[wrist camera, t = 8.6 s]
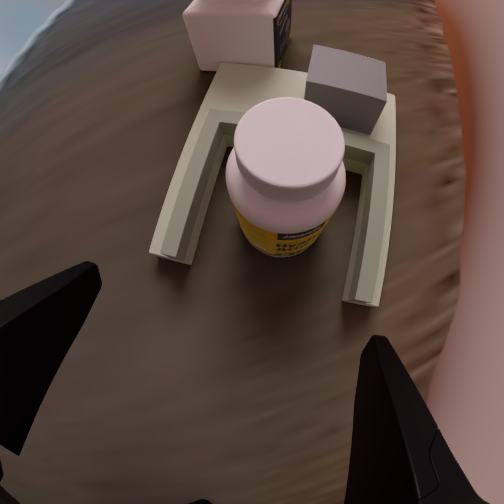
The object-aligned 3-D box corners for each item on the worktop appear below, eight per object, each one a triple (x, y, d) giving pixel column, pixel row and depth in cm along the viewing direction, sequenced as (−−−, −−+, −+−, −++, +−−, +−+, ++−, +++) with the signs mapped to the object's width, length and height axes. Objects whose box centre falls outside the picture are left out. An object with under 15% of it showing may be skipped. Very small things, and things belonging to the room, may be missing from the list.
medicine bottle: (276, 79, 21) (272, -42, 10) (199, 72, 22) (163, -35, 11) (291, 36, 23) (292, -64, 11) (223, 30, 23) (203, -62, 12)
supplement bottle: (275, 276, 18) (277, 242, 9) (224, 212, 19) (183, 131, 10) (338, 225, 19) (391, 152, 9) (286, 167, 20) (293, 65, 10)
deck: (370, 306, 18) (406, 305, 12) (158, 256, 19) (118, 237, 14) (389, 106, 20) (410, 63, 15) (223, 74, 22) (212, 28, 16)
